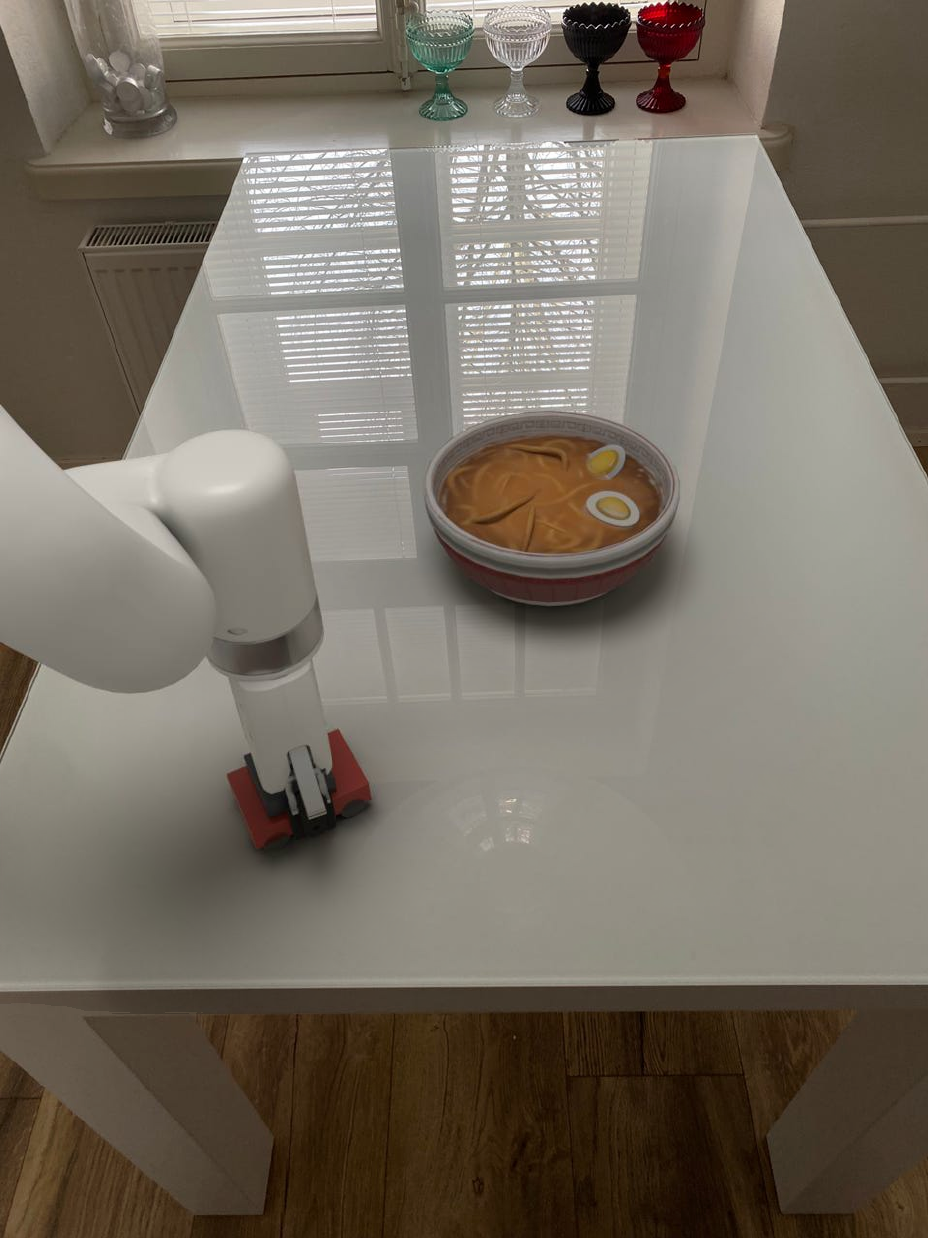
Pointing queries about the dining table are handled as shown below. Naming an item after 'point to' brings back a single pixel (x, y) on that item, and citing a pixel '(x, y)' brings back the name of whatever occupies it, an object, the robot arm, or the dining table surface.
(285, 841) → the toy car
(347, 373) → the dining table surface
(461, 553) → the bowl
